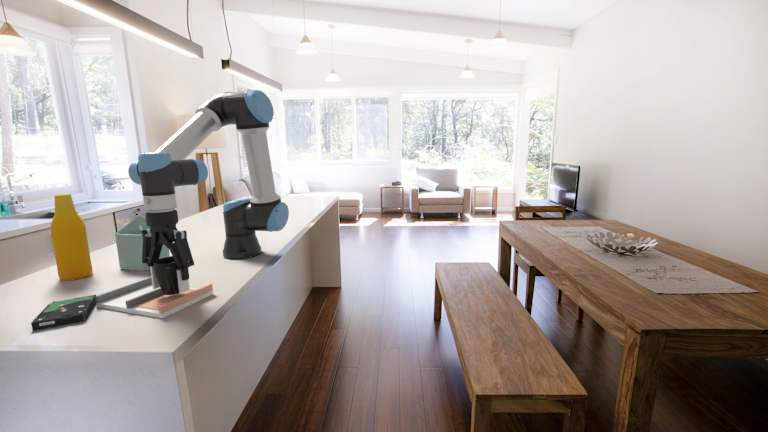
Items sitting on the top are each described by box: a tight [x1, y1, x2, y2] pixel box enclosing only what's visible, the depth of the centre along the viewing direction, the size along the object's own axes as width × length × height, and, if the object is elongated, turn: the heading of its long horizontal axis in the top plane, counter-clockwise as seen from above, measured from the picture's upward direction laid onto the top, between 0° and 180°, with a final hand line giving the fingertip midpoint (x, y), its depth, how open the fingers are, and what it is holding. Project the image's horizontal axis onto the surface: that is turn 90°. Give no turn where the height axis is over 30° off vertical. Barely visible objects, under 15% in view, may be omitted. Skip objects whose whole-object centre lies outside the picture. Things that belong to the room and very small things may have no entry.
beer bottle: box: [50, 193, 93, 282], centre depth 125 cm, size 9×9×29 cm
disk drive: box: [30, 294, 97, 332], centre depth 96 cm, size 10×3×15 cm
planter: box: [114, 214, 171, 272], centre depth 134 cm, size 16×8×20 cm, turn 117°
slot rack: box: [95, 276, 214, 319], centre depth 104 cm, size 17×24×3 cm
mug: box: [154, 255, 183, 295], centre depth 101 cm, size 8×12×10 cm
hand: (171, 289), depth 102 cm, fingers closed on mug, 9 cm apart
